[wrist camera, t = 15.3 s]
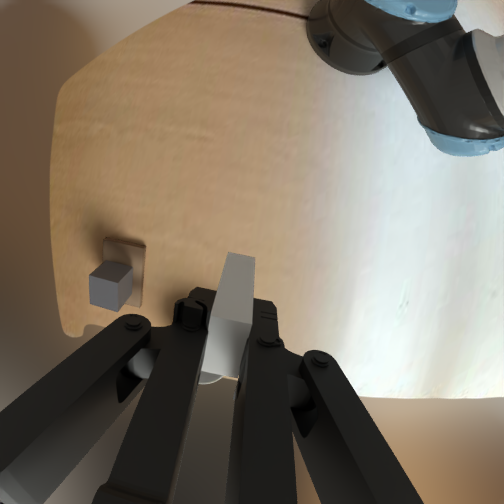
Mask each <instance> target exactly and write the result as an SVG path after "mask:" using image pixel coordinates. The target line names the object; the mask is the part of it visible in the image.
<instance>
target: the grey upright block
mask: <svg viewBox="0 0 504 504" xmlns="http://www.w3.org/2000/svg"><path fill="white" fill-rule="evenodd" d="M132 281H133V267H132V266H128V265H124V264H120V263H116V262H112V261H108V260H106V261H105V262H104V263H102V264H101V265H100V266H99V267H98V268H97V269H95V270H94V271H93V272H92V273H91V274H90V275H89V294H90V304H92V305H96V306H99V307H102V308H105V309H109V310H112V311H116V312H118V311H119V310H120V309H121V307H122V306H123V305H124V303H125V302H126V301H127V300H128V298H129V297H130V296H131V294H132Z"/></svg>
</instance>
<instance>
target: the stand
mask: <svg viewBox="0 0 504 504" xmlns="http://www.w3.org/2000/svg"><path fill="white" fill-rule="evenodd" d="M145 252H146V246H142V245H138V244H133V243H129V242H125V241H120V240H116V239H111V238H107V237H106V238H105V239H103V263H104V262H105V261H106V260H108V261H112V262H116V263H120V264H124V265H128V266H132V267H133V281H132V294H131V296H130V297H129V298H128V300H127V301H126V302H125V303H124V304H127V305H131V306H134V307H138V308H140V307H141V306H142V294H143V278H144V264H145Z"/></svg>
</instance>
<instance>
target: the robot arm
mask: <svg viewBox="0 0 504 504" xmlns="http://www.w3.org/2000/svg"><path fill="white" fill-rule="evenodd" d="M456 7H457V0H320V1H319V2H318V3H317V4H316V5H315V6H314V7H313V9H312V10H311V12H310V15H309V17H308V20H307V36H308V39H309V42H310V44H311V46H312V48H313V49H314V51H315V52H316V53H317V55H318V56H319V57H320V58H321V59H322V60H323V61H324V62H326V63H327V64H328V65H330V66H331V67H333V68H335V69H337V70H339V71H341V72H344V73H347V74H351V75H370V74H374V73H376V72H378V71H380V70H382V69H384V68H386V67H387V66H388V67H389V69H390V70H391V72H392V73H393V75H394V77H395V78H396V80H397V81H398V83H399V85H400V86H401V88H402V90H403V91H404V93H405V95H406V96H407V98H408V100H409V102H410V103H411V105H412V107H413V109H414V110H415V112H416V114H417V119H418V122H419V123H420V125H421V126H422V127H423V128H424V129H425V131H426V133H427V135H428V137H429V138H430V140H431V142H432V143H433V145H434V146H435V147H436V148H437V149H439V150H440V151H442V152H444V153H446V154H449V155H453V156H467V157H468V156H479V155H484V154H488V153H489V151H490V150H491V151H497V150H500V149H502V148H503V147H504V35H501V36H498V37H494V36H492V35H490V34H488V33H486V32H484V31H482V30H480V29H475V30H473V31H470V32H468V33H466V32H465V31H464V29H463V28H462V26H461V24H460V23H459V21H458V20H457V18H456V17H455V15H454V13H455V10H456ZM254 274H255V257H250V256H245V255H240V254H236V253H231V252H228V255H227V258H226V262H225V265H224V269H223V272H222V276H221V279H220V283H219V286H218V290H217V291H214V290H209V289H205V288H200V287H196V288H195V289H193V290H192V291H191V292H190V294H189V296H188V298H183V299H180V300H178V301H177V302H176V303H175V307H174V317H173V323H172V325H170V326H166V327H151V323H150V321H149V320H148V319H147V318H145V317H144V316H141V315H138V314H126V315H123V316H121V317H119V318H117V319H116V320H115V321H114V322H112V323H111V324H110V325H108V326H107V327H106V328H104V329H103V330H102V331H101V332H99V333H98V334H97V335H95V336H94V337H93V338H92V339H90V340H89V341H88V342H86V343H85V344H84V345H83V346H81V347H80V348H79V349H77V350H76V351H75V352H74V353H72V354H71V355H70V356H69V357H67V358H66V359H65V360H64V361H62V362H61V363H60V364H59V365H57V366H56V367H55V368H54V369H52V370H51V371H50V372H49V373H47V374H46V375H45V376H44V377H42V378H41V379H40V380H39V381H37V382H36V383H35V384H34V385H32V386H31V387H30V388H29V389H28V390H26V391H25V392H24V393H23V394H21V395H20V396H19V397H18V398H17V399H15V400H14V401H13V402H12V403H11V404H10V405H8V406H7V407H6V408H5V409H3V410H2V411H1V412H0V504H43V503H44V502H45V501H46V500H47V499H48V498H49V497H50V495H51V494H52V493H53V492H54V491H55V490H56V488H57V487H58V486H59V485H60V484H61V483H62V482H63V480H64V479H65V478H66V477H67V476H68V475H69V473H70V472H71V471H72V470H73V469H74V468H75V467H76V465H77V464H78V463H79V462H80V461H81V460H82V458H83V457H84V456H85V455H86V454H87V453H88V451H89V450H90V449H91V448H92V447H93V446H94V444H95V443H96V442H97V441H98V440H99V439H100V437H101V436H102V435H103V434H104V433H105V432H106V430H107V429H108V428H109V427H110V426H111V425H112V423H113V422H114V421H115V420H116V419H117V418H118V417H119V415H120V414H121V413H122V412H123V411H124V410H125V408H126V407H127V406H128V405H129V404H130V403H131V401H132V400H133V399H134V398H135V397H136V396H137V394H138V393H139V392H140V391H141V390H142V389H143V387H144V386H145V388H144V390H143V393H142V395H141V397H140V400H139V402H138V405H137V407H136V410H135V412H134V414H133V417H132V419H131V422H130V424H129V427H128V429H127V432H126V435H125V437H124V440H123V443H122V445H121V447H120V450H119V453H118V455H117V458H116V461H115V463H114V466H113V468H112V471H111V474H110V477H109V479H108V481H107V482H106V483H105V484H103V485H101V486H100V487H99V489H98V490H97V492H96V494H95V496H94V499H93V502H92V504H172V502H173V498H174V493H175V488H176V483H177V478H178V474H179V469H180V465H181V460H182V455H183V451H184V446H185V442H186V437H187V432H188V428H189V423H190V419H191V415H192V410H193V406H194V402H195V397H196V393H197V389H198V384H199V380H200V374H201V371H204V372H209V373H214V374H219V375H224V376H229V377H234V378H238V375H239V378H238V382H237V386H236V389H235V393H234V397H233V399H234V400H235V404H234V413H233V423H232V433H231V443H230V453H229V463H228V474H227V483H226V493H225V504H297V493H296V492H297V491H296V476H295V462H294V449H293V436H292V431H293V434H294V436H295V439H296V442H297V444H298V447H299V449H300V452H301V454H302V457H303V459H304V462H305V464H306V467H307V470H308V472H309V474H310V477H311V479H312V482H313V484H314V487H315V489H316V492H317V494H318V497H319V499H320V502H321V504H424V503H423V501H422V500H421V498H420V496H419V495H418V493H417V491H416V490H415V488H414V486H413V485H412V483H411V481H410V480H409V478H408V476H407V475H406V473H405V472H404V470H403V468H402V467H401V465H400V463H399V462H398V460H397V458H396V457H395V455H394V453H393V452H392V450H391V448H390V447H389V445H388V444H387V442H386V440H385V439H384V437H383V435H382V434H381V432H380V431H379V429H378V427H377V426H376V424H375V422H374V421H373V419H372V418H371V416H370V414H369V413H368V411H367V410H366V408H365V406H364V405H363V403H362V402H361V400H360V399H359V397H358V395H357V394H356V392H355V390H354V389H353V387H352V386H351V384H350V382H349V381H348V379H347V378H346V376H345V374H344V373H343V371H342V370H341V368H340V366H339V365H338V363H337V362H336V360H335V359H334V358H333V357H332V356H331V355H329V354H328V353H326V352H323V351H319V350H310V351H307V352H306V353H305V354H304V356H300V355H297V354H295V353H292V352H290V351H289V350H287V349H285V346H284V343H283V340H282V339H281V338H280V337H279V330H278V321H277V320H278V318H277V308H276V306H275V305H274V304H273V302H272V301H266V300H261V299H256V298H253V295H254Z"/></svg>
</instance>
